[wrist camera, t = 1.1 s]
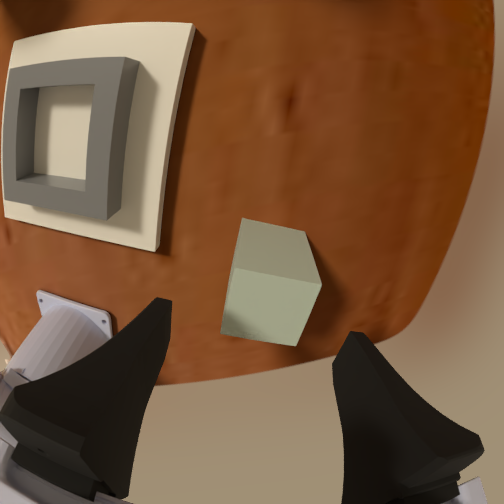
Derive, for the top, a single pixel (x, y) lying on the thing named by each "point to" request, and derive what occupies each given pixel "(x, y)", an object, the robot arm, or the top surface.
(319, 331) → the top surface
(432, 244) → the top surface
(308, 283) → the plug block
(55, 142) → the dock
